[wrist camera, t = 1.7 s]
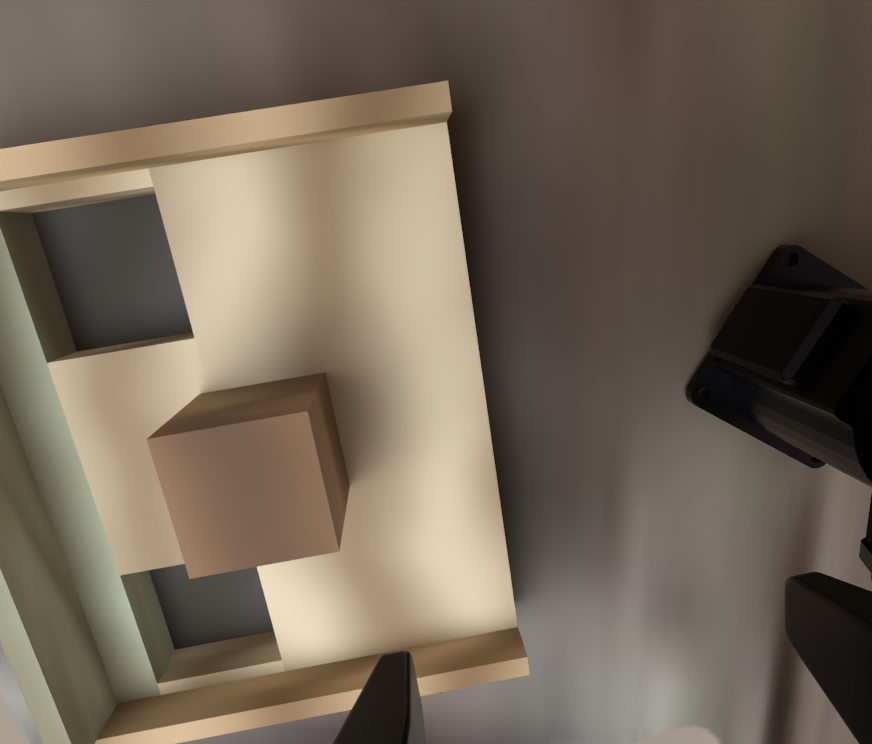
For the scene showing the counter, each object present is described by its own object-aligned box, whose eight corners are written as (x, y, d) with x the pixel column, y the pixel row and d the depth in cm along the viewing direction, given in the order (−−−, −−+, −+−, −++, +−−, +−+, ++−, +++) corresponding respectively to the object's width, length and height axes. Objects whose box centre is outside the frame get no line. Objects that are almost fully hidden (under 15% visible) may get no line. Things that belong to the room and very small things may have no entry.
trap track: (437, 108, 18) (451, 69, 14) (509, 609, 23) (536, 698, 19) (-52, 184, 18) (-199, 168, 13) (126, 681, 22) (63, 790, 18)
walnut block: (325, 372, 18) (307, 411, 14) (349, 485, 19) (339, 551, 15) (199, 393, 18) (146, 438, 14) (230, 506, 19) (189, 579, 15)
